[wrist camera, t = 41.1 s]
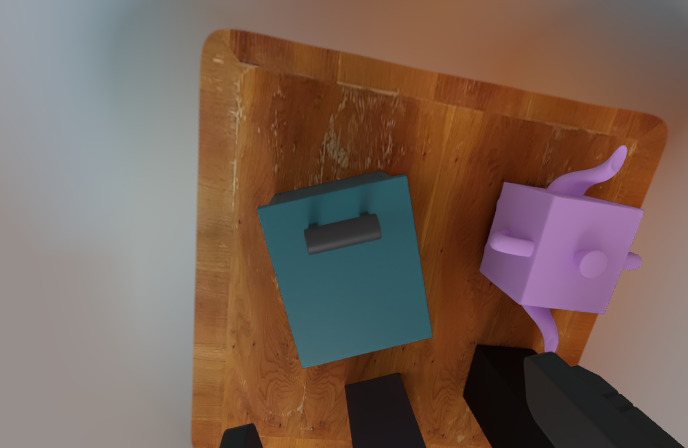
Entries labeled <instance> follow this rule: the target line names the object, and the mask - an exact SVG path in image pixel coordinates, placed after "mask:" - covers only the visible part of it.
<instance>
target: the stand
mask: <svg viewBox="0 0 688 448" xmlns="http://www.w3.org/2000/svg"><path fill="white" fill-rule="evenodd" d="M345 392H346V400H347V408H348V415H349V423H350V430H351V438H352V446H353V448H426V446H425V443H424V440H423V437H422V435H421V432H420V429H419V426H418V424H417V421H416V418H415V415H414V413H413V410H412V407H411V405H410V402H409V399H408V396H407V394H406V391H405V388H404V385H403V383H402V380H401V377H400V374H399V373H396V374H392V375H388V376H384V377H380V378H375V379H371V380H367V381H363V382H359V383H355V384H351V385H347V386H345Z"/></svg>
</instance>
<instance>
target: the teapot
mask: <svg viewBox="0 0 688 448" xmlns="http://www.w3.org/2000/svg"><path fill="white" fill-rule="evenodd" d="M626 154H627V148H626V146H620V147H619V148H618V149H617V150H616V151H615V152H614V153H613V154H612V155H611V156H610V158H609V159H608V160H607V161H605V162H604V163H603V164H601V165H599V166H597V167H595V168H591V169H587V170H581V171H575V172H571V173H567V174H565V175H562V176H560V177H558V178H557V179H555V180H554V181H553V182H552V183H551V184H550V185H549V186H548V188H547V189H544V188H537V187H531V186H525V185H519V184H513V183H507V182H504V185H503V188H502V192H501V195H500V198H499V199H498V201H497V204H496V207H497V209H496V213H495V216H494V220H493V223H492V227H491V231H490V234H489V238H488V241H487V244H486V245H485V247H484V256H483V259H482V263H481V266H480V270H479V272H481V273H482V274H483V275H484V276H485V277H487V278H488V279H489V280H490V281H491V282H493V283H494V284H495V285H496V286H497V287H499V288H500V289H501V290H502V291H503V292H505V293H506V294H507V295H508V296H509V297H511V298H512V299H513V300H514V301H515V302H517V303H518V304H520V305H522V306H523V308H524V309H525V311H526V312H527V313H528V314H529V315H530V317H531V318H532V319H533V320H534V321H535V323H536V324H537V325H538V327H539V328H540V330H541V332H542V335H543V338H544V345H545V352H549V351H552V352H554V353H555V351H556V349H557V346H558V341H559V337H558V330H557V327H556V324H555V322H554V320H553V317H552V315H551V313H550V309H549V308H554V309H563V310H572V311H580V312H589V313H597V314H604V313H605V311H606V309H607V306H608V304H609V301H610V299H611V296H612V294H613V291H614V289H615V286H616V283H617V281H618V278H619V276H620V273H621V271H622V270H634V269H637V268H639V267H640V265H641V263H642V259H641V257H640V256H638V255H637V254H634V253H631V252H629V250H630V248H631V245H632V242H633V240H634V237H635V234H636V232H637V229H638V227H639V224H640V221H641V218H642V216H643V213H644V210H643V209H639V208H635V207H631V206H626V205H622V204H618V203H613V202H609V201H605V200H601V199H596V198H592V197H588V196H584V195H583V194H584V193H585V191H586V190H587V189H588V188H589V187H590V186H592V185H594V184H597V183H600V182H603V181H606V180H608V179H610V178H611V177H612V176H614V175H615V174H616V173H617V172H618V171H619V170H620V168H621V167H622V165H623V163H624V160H625V158H626Z"/></svg>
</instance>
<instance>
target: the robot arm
mask: <svg viewBox="0 0 688 448" xmlns="http://www.w3.org/2000/svg"><path fill="white" fill-rule="evenodd" d="M524 375H525V388H526V400H527V404H528V407H529V410H530V412H531V414H532V416H533V418H534V420H535V421H536V423H537V424H538V426H539V427H540V428H541V429H542V431H543V432H544V433H545V435H546V436H547V437H548V438H549V440H550V441H551V442H552V444H553V445H554V446H555V447H556V448H684V447H683V446H682V445H681V444H680V443H678V442H677V441H676V440H675V439H674V438H673V437H671V436H670V435H669V434H668V433H667V432H665V431H664V430H663V429H662V428H661V427H660V426H658V425H657V424H656V423H655V422H654V421H652V420H651V419H650V418H649V417H648V416H646V415H645V414H644V413H643V412H642V411H641V410H639V409H638V408H637V407H634V406H633V404H632V403H631V402H630V401H629V400H628V399H626V398H625V397H624V396H623V395H622V394H619V393H618V391H617V390H616V389H615V388H613V387H612V386H611V385H610V384H609V383H607V382H606V381H605V380H604V379H603V378H602V377H600V376H599V375H597V374H595V373H593V372H590V371H589V370H587V369H584V368H583V367H581V366H579V365H577V366H573V367H570V366H569V365H568V364H567V363H566V362H565V361H564V360H562V359H561V358H560V357H559V356H558V355H557V354H556V353H554V352H552V351H549V352H545V353H541V354H537V355H533V356H529V357H525V358H524ZM219 448H263V446H262V444H261V441H260V438H259V435H258V432H257V429H256V427H255V425H254V424H253V423H251V424H247V425H243V426H239V427H235V428H230V429H227V430H226V431H225V432H224V434H223V437H222V441H221V444H220V447H219Z"/></svg>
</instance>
